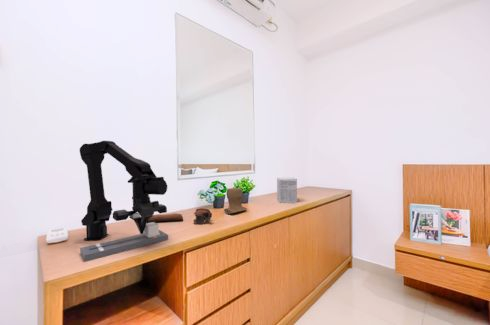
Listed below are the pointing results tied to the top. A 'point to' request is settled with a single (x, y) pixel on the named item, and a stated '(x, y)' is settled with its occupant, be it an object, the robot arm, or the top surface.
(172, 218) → the sunglasses case
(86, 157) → the robot arm
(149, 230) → the fader knob
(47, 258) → the top surface
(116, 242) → the fader track
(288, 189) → the supplement box
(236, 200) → the brown rounded stand
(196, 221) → the pottery mug
